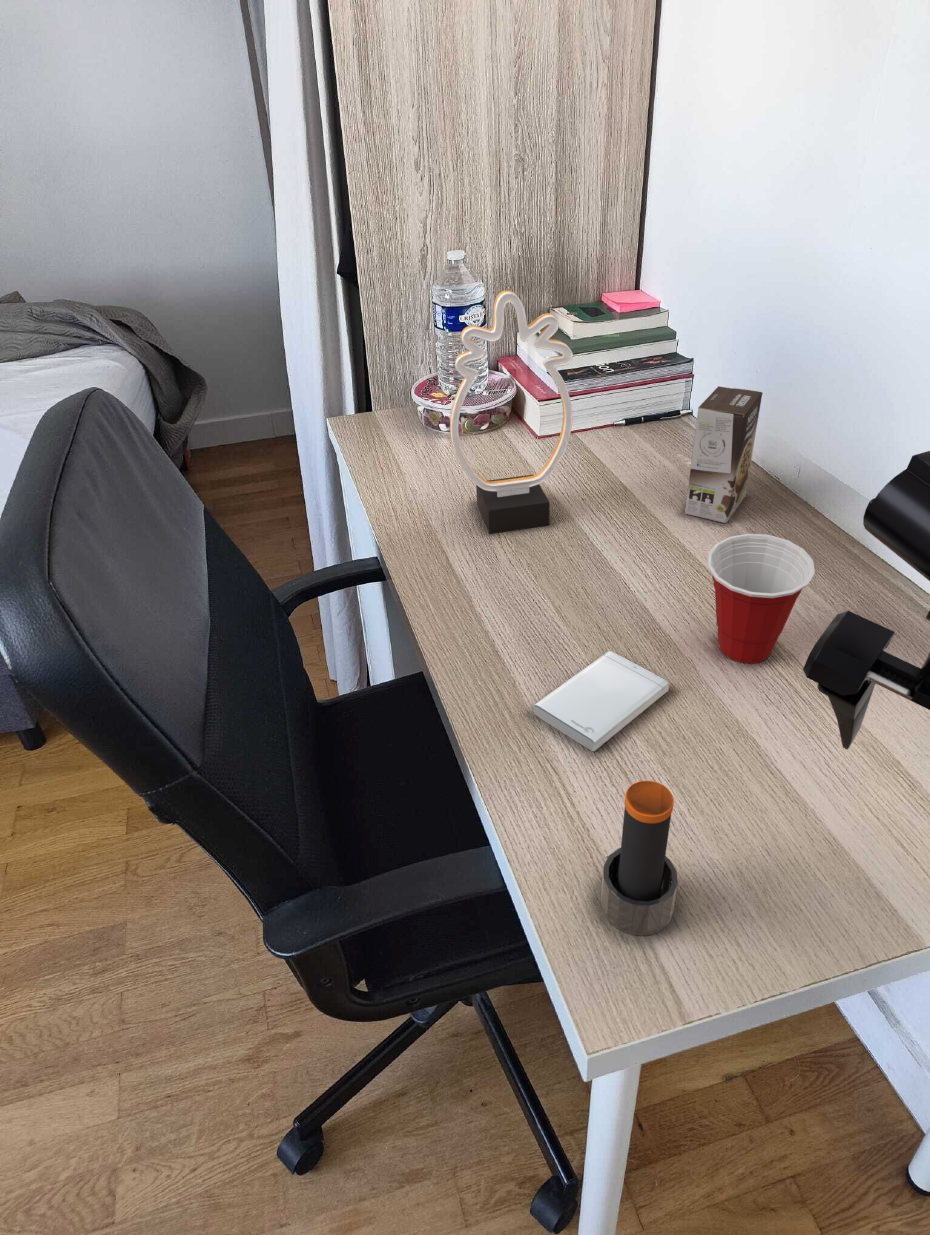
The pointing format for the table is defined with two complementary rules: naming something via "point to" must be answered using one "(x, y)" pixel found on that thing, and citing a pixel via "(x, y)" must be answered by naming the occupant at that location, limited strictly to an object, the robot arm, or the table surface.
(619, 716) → the hard drive
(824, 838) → the table surface
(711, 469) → the coffee box
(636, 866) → the orange-capped black cylinder
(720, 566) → the plastic cup
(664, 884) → the socket
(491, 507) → the lamp
